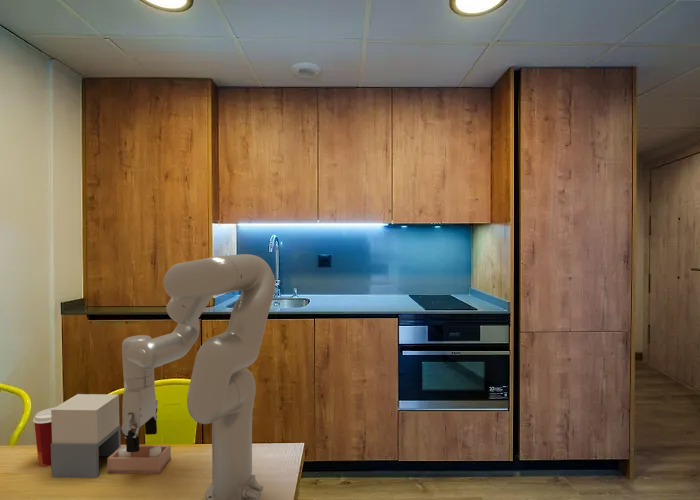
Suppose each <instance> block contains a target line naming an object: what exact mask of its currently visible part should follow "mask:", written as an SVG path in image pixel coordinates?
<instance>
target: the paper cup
mask: <svg viewBox="0 0 700 500" xmlns="http://www.w3.org/2000/svg"><path fill="white" fill-rule="evenodd" d="M53 408H54V407H50V408H47V409H43V410H41V411H40V410H39V411H38V412H36V414H35V415H34V418H33V419H32V422H33V423H34V430H35V431H34V432H35V443H36V451H37V460H38V465H39V466H40V467H49V466H50V467H51V444H52V420H51V410H52V409H53Z"/></svg>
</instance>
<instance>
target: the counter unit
mask: <svg viewBox="0 0 700 500" xmlns="http://www.w3.org/2000/svg"><path fill="white" fill-rule="evenodd" d="M52 408H53V409H52V410H51V420H52V444H51V465H50V467H51V472H50V473H51V478H85V479H86V478H88V479H89V478H90V479H93V478H95V479H98V477H99V476H100V459H99V457H110V456H111V455H112V454H113V453H114V452H115V451H116V450H117V449H118V448H119V447H120V446H121V445H122V444H121V442H122V438H121V437H122V436H121V435H122V434H121V431H122V430H121V424H120V395H119V394H109V393H108V394H106V393H105V394H104V393H103V394H97V393H95V394H94V393H93V394H92V393H90V394H88V393H87V394H85V393H76V395H74V396H72V397H71V398H69V399H67V400H65V401H63V402H62V403H60V404H58V405H57V406H55V407H52Z"/></svg>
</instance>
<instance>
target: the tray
mask: <svg viewBox="0 0 700 500" xmlns="http://www.w3.org/2000/svg"><path fill="white" fill-rule="evenodd" d="M139 448H140V450H139V451H138V452H127V450H126V444H121V446H120V447H119V448H118V449H117V450H116V451H115V452H114V453H113V454H112V455H111V456H107V458H106V459H107V474H154V475H155V474H156V475H159V474H161V472H162V471H163V470H164V468H165V467H166V466H167V465H168V463H169V462H170V461H171V460H172V454H171V452H172V449H171V448H172V447H171V445H162V444H161V445H155V444H154V445H152V444H151V445H148V444H147V445H146V444H145V445H144V444H143V445H141V444H139Z"/></svg>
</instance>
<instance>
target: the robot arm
mask: <svg viewBox="0 0 700 500" xmlns="http://www.w3.org/2000/svg"><path fill="white" fill-rule="evenodd" d="M163 288H164V291H165V292H166V294H167V295H168V296H169V297H170V299H169V301H168V303H167V304H166V309H165V310H166V312H167V314H168V316H169V317H170V319H172V321H175V322H176V323H177V325H176V326H175V328H174V330H172V332H170V333H167V334H163V335H161V336H156V337H153V338H152V337H151V336H150V335H147V334H140V335H139V334H138V335H132V336H128V337H125V339H123V340H122V343H121V353H122V354H121V355H122V373H123V390H124V391H123V395H122V407H121V409H122V410H121V411H122V412H121V416H122V417H121V421H122V423H121V426H120V430H121V431H122V435H123V436H124V439H125V445H126V450H127V452H138V451H139V450H140V448H139V445H140V436H139V430H140V428H141V427H143V425H144V434H145V435H147V436H149V435H150V436H151V435H157V434H158V425H157V424H158V423H157V420H158V419H157V418H158V415H157V413H158V404H159V401H158V399H157V398H156V397H157V396H156V391H155V390H156V389H155V384H156V382H155V369H156V368H159V367H161V366H163V365H166V364H170V363H171V362H175V361H176V360H179V359H181V358H182V359H183V357H185V355H187V354H188V352H189V351H190V350H191V349H192V347H193V345H195V342H196V341H197V339H198V337H199V335H200V329H201V326H200V324H201V323H200V320H199V318H200V317H201V315H202V313H203V312H204V311H205V309H206V307H207V305H208V304H209V303H210V301H211V300H212V298H213V296H216V295H217V296H219V295H224V294H228V293H234V292H238V291H241V293H240V295H239V296H238V298H237V300H236V302H235V303H234V305H233V307H232V310H231V312H230V318H229V323H228V326H227V328H226V330H225V331H224V332H222V333H221V334H217V335H214V336H212V337H210V338H207V340H205V341H204V342H203V343H202V345H200V347H199V348H198V351H197V353H196V356H195V360H194V365H193V367H192V373H191V376H190V381H189V386H188V391H187V397H186V398H187V399H186V403H187V404H186V405H187V410H188V413H189V415H190V417H191V418H192V419H193V420H194V421H195V422H196V423H198V424H201V425H209V424H211V447H212V448H211V463H212V468H211V469H212V470H211V472H212V473H211V474H212V475H211V476H212V479H211V481H212V484H210V485H209V486H208V488H207V490H206V492H205V500H261V497H262V492H263V490H264V486H263V485H261V484H259V483H258V481H257V480H256V475H254V474H253V411H254V410H253V409H254V403H255V398H256V393H257V392H256V391H257V387H256V386H257V385H256V379H255V377H254V375H253V373H252V372H251V371H250V370H249V369H248V367H249V366H251V365H252V364H253V363H255V361H256V360H257V359H258V357H259V355H260V349H261V346H262V343H263V342H262V341H263V338H264V334H265V330H266V327H267V320H268V316H269V312H270V309H271V306H272V303H273V299H274V296H275V289H276V283H275V276H274V273H273V271H272V268H271V267H270V265H269V264H268V262H266V261H265V260H264V258H262V257H260V256H258V255H254V254H249V253H245V254H244V253H241V254H230V255H220V256H212V257H207V258H201V259H196V260H191V261H185V262H178V263H176V264H173V265H172V266H171V267H170V268H169V269H167V271H166V273H165V275H164V278H163ZM132 429H134V431H133V430H132Z"/></svg>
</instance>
